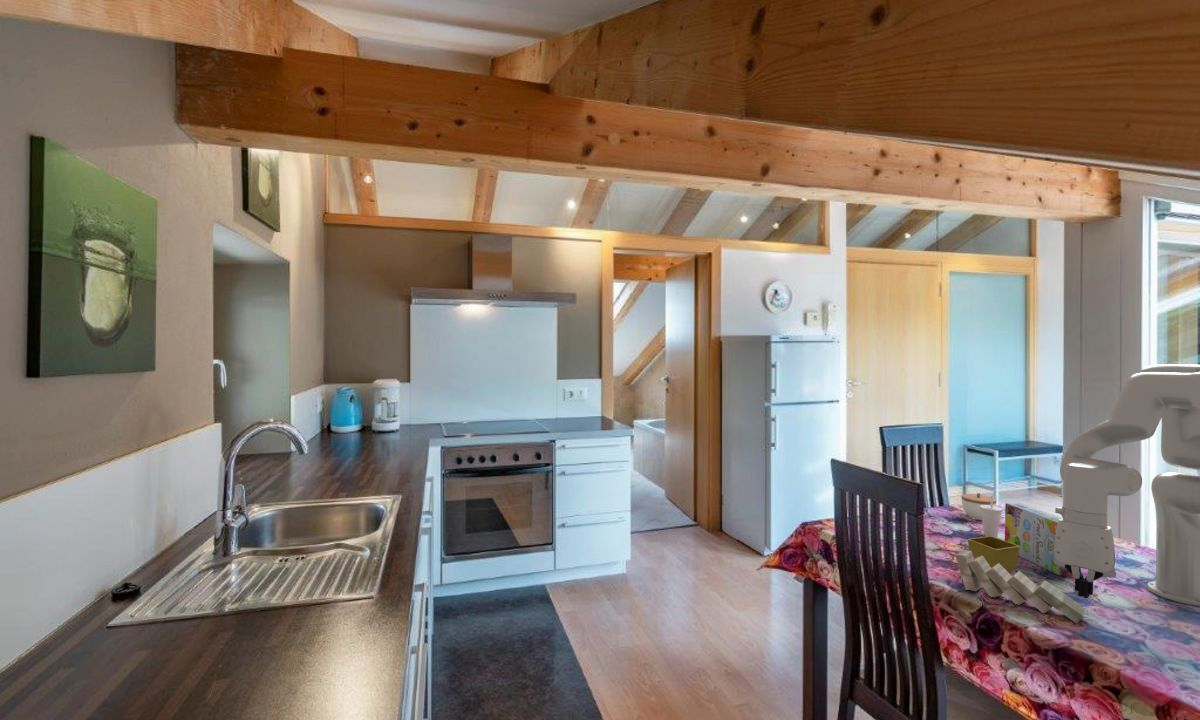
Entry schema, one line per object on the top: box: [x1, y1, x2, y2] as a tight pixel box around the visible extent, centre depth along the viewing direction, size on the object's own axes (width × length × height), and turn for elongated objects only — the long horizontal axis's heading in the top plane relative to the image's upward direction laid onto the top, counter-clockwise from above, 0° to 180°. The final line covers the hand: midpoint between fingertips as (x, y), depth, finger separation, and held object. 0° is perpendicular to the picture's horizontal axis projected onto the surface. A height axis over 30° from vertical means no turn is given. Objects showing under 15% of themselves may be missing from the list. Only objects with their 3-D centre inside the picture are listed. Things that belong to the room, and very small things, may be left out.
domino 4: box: [1007, 570, 1054, 614], centre depth 130 cm, size 2×5×9 cm
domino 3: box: [986, 563, 1028, 606], centre depth 134 cm, size 2×5×9 cm
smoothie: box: [980, 494, 1003, 538], centre depth 181 cm, size 6×6×14 cm
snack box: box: [1004, 502, 1073, 577], centre depth 158 cm, size 21×6×15 cm, turn 179°
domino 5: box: [1034, 580, 1088, 624], centre depth 126 cm, size 2×5×9 cm
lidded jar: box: [961, 492, 997, 521], centre depth 200 cm, size 11×11×9 cm
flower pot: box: [967, 535, 1020, 575], centre depth 149 cm, size 9×9×9 cm
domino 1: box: [955, 550, 983, 592], centre depth 140 cm, size 2×5×9 cm, turn 129°
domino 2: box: [968, 556, 1005, 598], centre depth 137 cm, size 2×5×9 cm
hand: (1083, 595), depth 123 cm, fingers closed
